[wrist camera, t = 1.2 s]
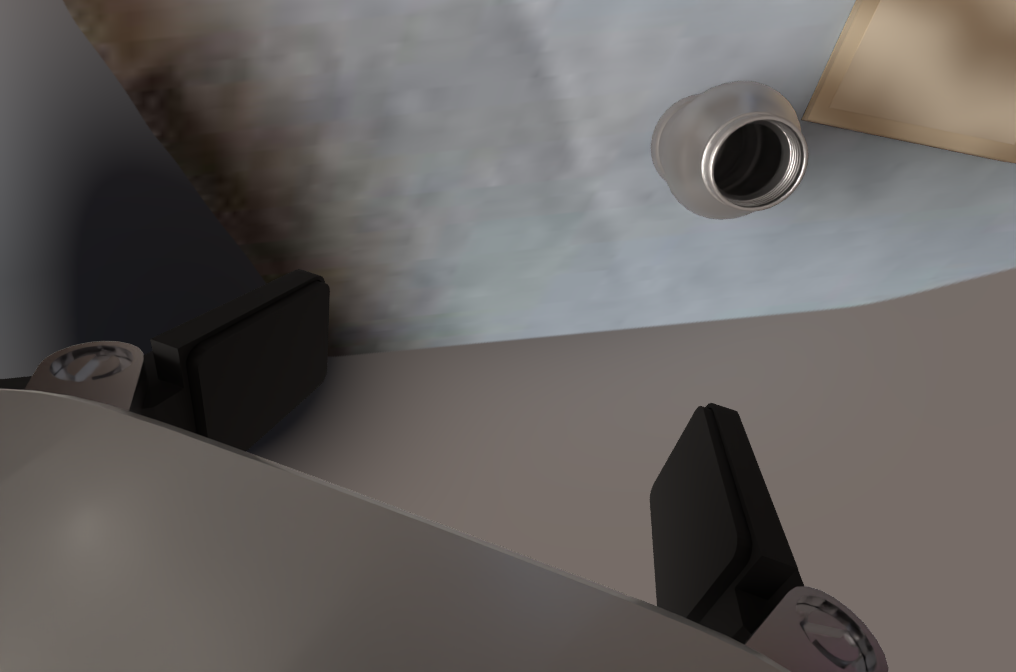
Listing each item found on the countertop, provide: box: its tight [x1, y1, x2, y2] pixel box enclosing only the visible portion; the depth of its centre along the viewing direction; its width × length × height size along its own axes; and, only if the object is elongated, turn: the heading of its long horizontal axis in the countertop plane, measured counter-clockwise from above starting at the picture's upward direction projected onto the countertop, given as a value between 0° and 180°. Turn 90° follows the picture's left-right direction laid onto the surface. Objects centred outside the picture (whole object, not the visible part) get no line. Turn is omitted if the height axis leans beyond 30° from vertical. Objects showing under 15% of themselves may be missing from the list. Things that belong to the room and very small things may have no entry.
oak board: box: [801, 0, 1016, 163], centre depth 28 cm, size 14×14×1 cm
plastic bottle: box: [651, 81, 808, 220], centre depth 26 cm, size 6×7×20 cm
